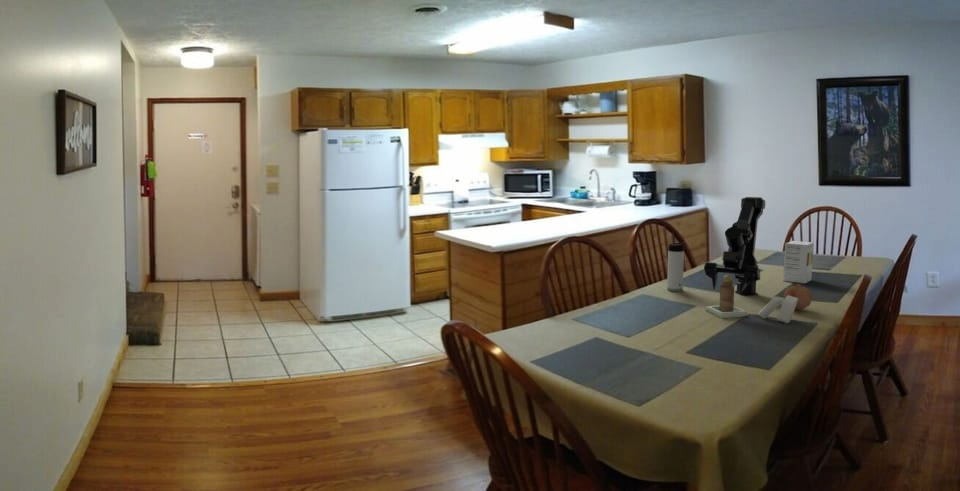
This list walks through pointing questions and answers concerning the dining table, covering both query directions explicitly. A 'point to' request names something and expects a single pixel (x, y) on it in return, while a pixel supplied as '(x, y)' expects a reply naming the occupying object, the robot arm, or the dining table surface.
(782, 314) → the wall hook
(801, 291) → the onion
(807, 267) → the supplement box
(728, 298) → the pepper mill
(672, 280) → the travel mug
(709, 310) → the keeper dish
